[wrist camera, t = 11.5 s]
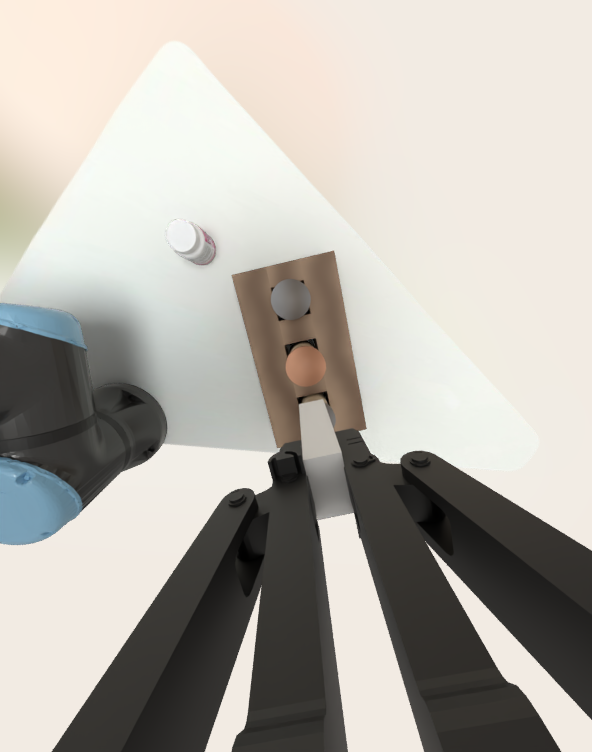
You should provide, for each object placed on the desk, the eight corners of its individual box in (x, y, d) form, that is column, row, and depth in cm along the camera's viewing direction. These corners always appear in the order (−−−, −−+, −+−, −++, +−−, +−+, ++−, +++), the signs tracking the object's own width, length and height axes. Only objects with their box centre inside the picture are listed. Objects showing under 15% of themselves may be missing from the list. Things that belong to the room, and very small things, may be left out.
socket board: (279, 427, 52) (277, 448, 44) (241, 280, 46) (231, 275, 38) (355, 410, 51) (366, 429, 43) (326, 260, 45) (334, 250, 38)
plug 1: (280, 320, 47) (276, 323, 35) (273, 290, 46) (266, 284, 34) (308, 313, 47) (314, 315, 35) (302, 283, 46) (306, 274, 34)
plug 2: (301, 409, 50) (304, 440, 39) (295, 384, 49) (296, 408, 37) (327, 404, 50) (338, 433, 38) (322, 378, 49) (332, 400, 37)
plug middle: (291, 369, 46) (290, 390, 34) (284, 340, 45) (281, 352, 33) (319, 363, 46) (329, 381, 34) (313, 334, 45) (321, 342, 33)
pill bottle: (222, 245, 45) (206, 231, 36) (206, 271, 46) (187, 263, 37) (196, 226, 44) (174, 207, 36) (180, 252, 45) (155, 240, 37)
